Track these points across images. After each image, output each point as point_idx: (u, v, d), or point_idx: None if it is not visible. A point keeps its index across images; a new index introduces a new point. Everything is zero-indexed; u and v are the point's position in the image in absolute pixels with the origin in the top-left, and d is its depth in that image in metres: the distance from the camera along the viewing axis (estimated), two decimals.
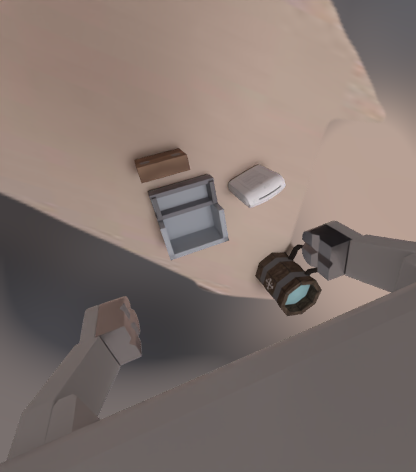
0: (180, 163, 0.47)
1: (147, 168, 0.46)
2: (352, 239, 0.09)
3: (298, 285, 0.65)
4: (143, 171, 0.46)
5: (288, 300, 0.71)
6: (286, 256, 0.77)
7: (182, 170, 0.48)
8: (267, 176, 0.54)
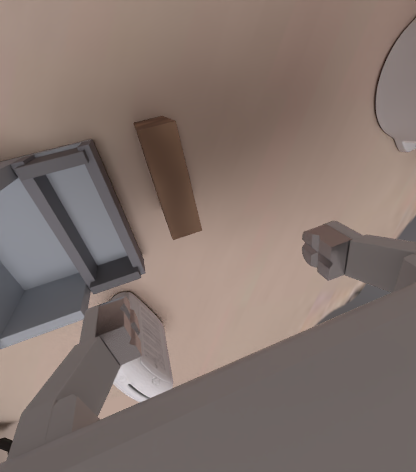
0: (185, 220, 0.23)
1: (174, 149, 0.19)
2: (352, 239, 0.09)
3: None
4: (168, 138, 0.19)
5: None
6: None
7: (171, 225, 0.22)
8: (164, 364, 0.30)
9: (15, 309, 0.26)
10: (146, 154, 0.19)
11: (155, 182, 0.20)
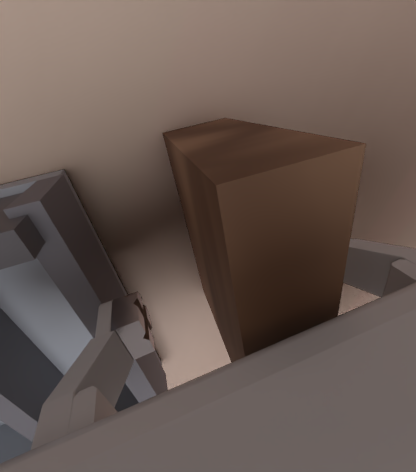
0: None
1: (327, 239, 0.05)
2: None
3: None
4: (320, 206, 0.05)
5: None
6: None
7: None
8: None
9: None
10: (234, 264, 0.05)
11: (244, 333, 0.06)
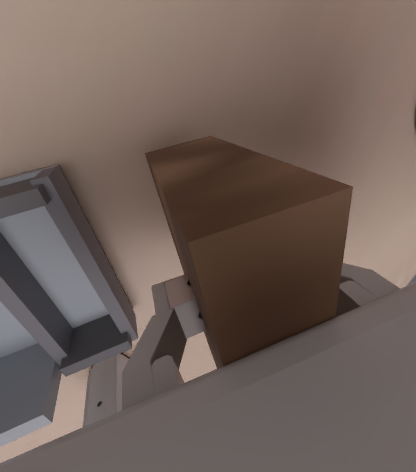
0: None
1: (316, 282, 0.05)
2: None
3: None
4: (306, 251, 0.05)
5: None
6: None
7: None
8: None
9: None
10: (215, 316, 0.05)
11: None
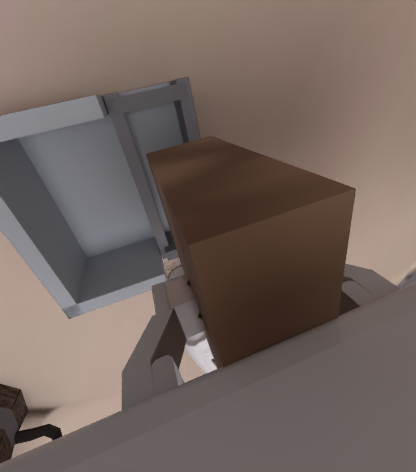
0: None
1: (318, 285, 0.05)
2: None
3: None
4: (307, 254, 0.04)
5: None
6: (19, 423, 0.33)
7: None
8: None
9: (84, 275, 0.23)
10: (215, 320, 0.05)
11: None
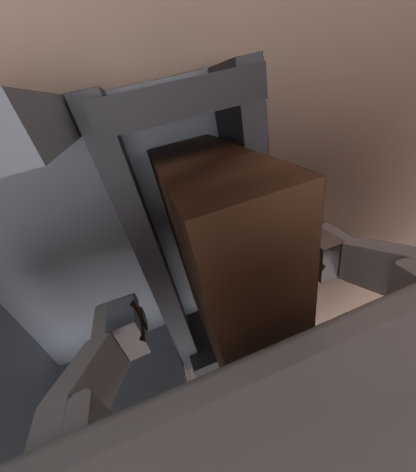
0: None
1: (298, 261, 0.06)
2: (344, 242, 0.09)
3: None
4: (287, 233, 0.05)
5: None
6: None
7: None
8: None
9: None
10: (208, 289, 0.05)
11: (224, 350, 0.07)
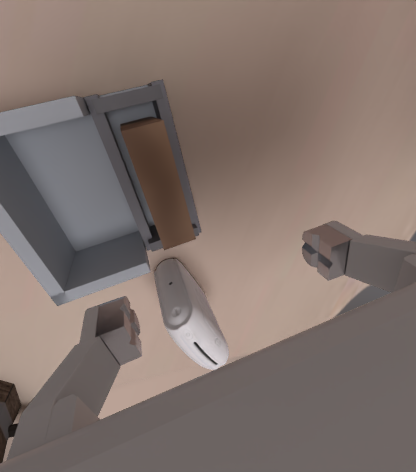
0: (177, 228, 0.21)
1: (163, 151, 0.18)
2: (352, 239, 0.09)
3: None
4: (155, 139, 0.17)
5: None
6: (13, 417, 0.34)
7: (161, 234, 0.21)
8: (219, 329, 0.29)
9: (72, 267, 0.24)
10: (132, 157, 0.17)
11: (143, 188, 0.18)
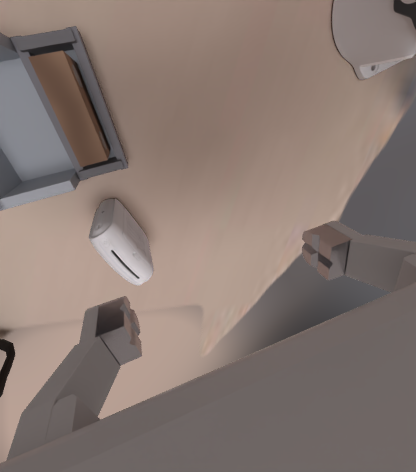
0: (89, 148, 0.26)
1: (66, 77, 0.23)
2: (352, 239, 0.09)
3: None
4: (58, 66, 0.22)
5: None
6: None
7: (76, 152, 0.26)
8: (146, 254, 0.34)
9: (13, 188, 0.30)
10: (40, 80, 0.22)
11: (53, 108, 0.23)
